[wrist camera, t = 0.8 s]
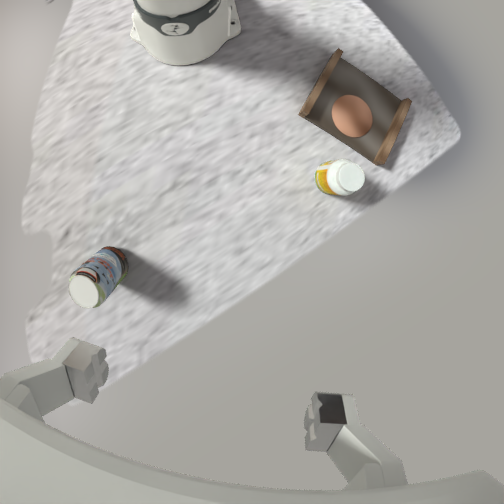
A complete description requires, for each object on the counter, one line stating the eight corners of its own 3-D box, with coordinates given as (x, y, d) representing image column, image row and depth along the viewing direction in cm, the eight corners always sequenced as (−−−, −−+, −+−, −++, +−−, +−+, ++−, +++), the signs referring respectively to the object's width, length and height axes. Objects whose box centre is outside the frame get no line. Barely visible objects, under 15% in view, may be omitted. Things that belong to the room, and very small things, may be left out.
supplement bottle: (324, 155, 49) (347, 149, 39) (349, 175, 50) (376, 173, 40) (306, 181, 49) (327, 180, 40) (332, 200, 50) (356, 204, 41)
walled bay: (375, 165, 50) (384, 164, 47) (298, 114, 47) (303, 110, 44) (403, 104, 48) (412, 101, 45) (332, 54, 45) (338, 48, 42)
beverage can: (135, 253, 48) (112, 272, 37) (121, 292, 49) (98, 320, 38) (102, 238, 47) (71, 253, 36) (90, 277, 48) (60, 301, 37)
